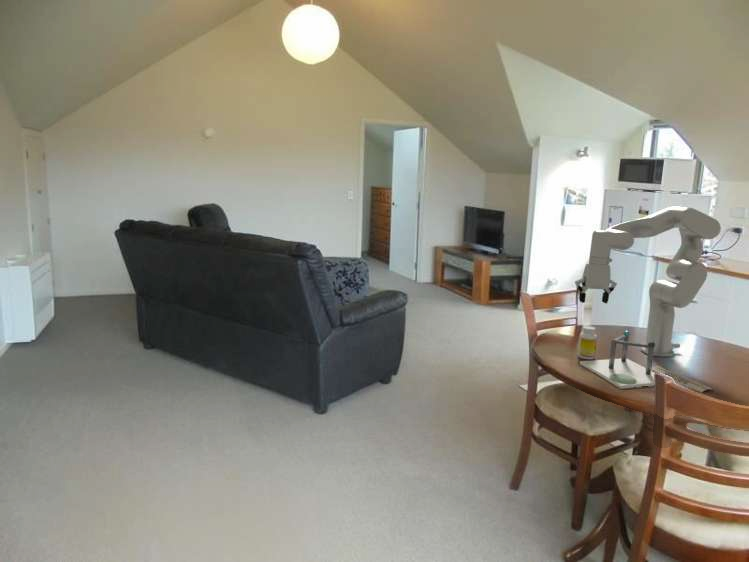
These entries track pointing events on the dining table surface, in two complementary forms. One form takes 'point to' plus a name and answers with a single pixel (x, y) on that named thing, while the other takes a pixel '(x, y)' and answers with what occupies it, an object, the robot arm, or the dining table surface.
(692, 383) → the newspaper
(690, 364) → the dining table surface
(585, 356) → the supplement bottle
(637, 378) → the buzz board
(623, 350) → the bent wire
